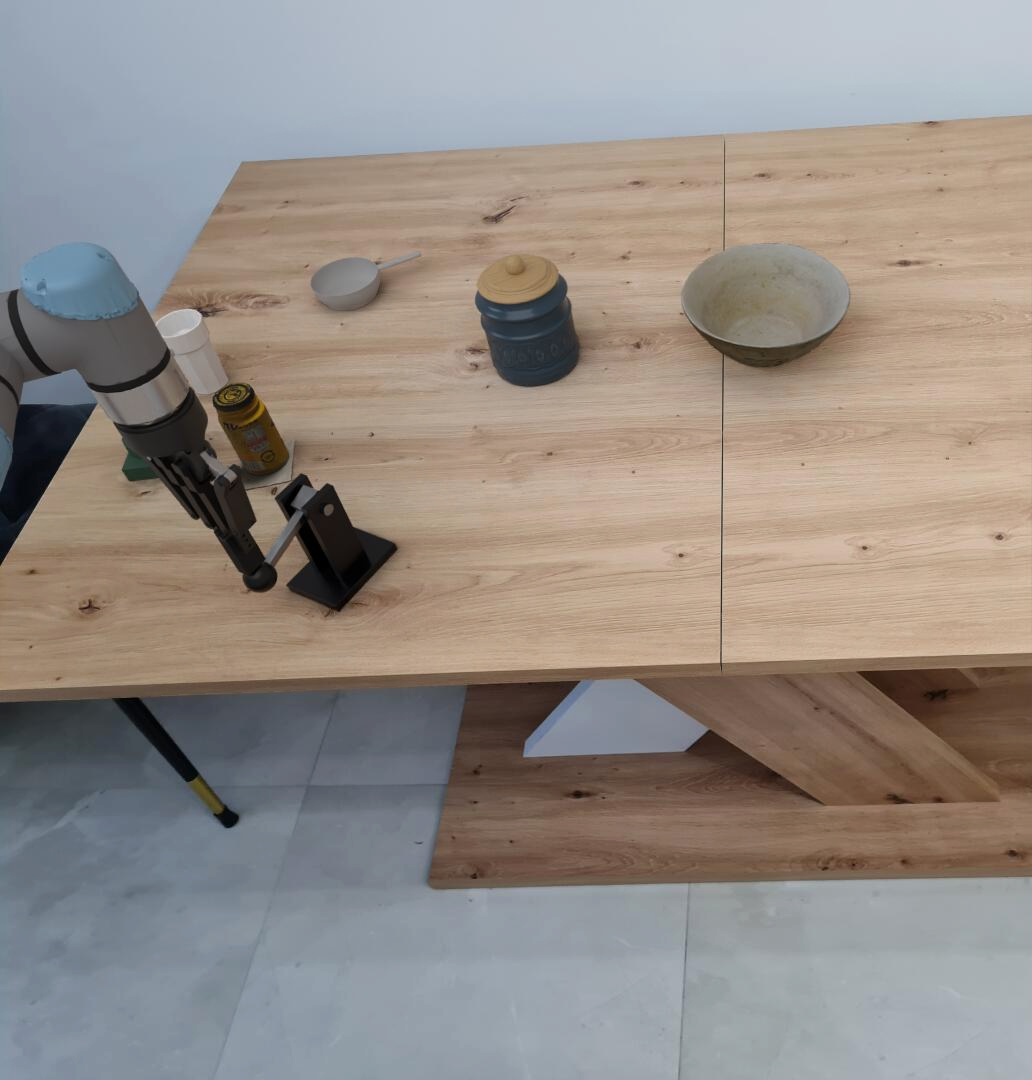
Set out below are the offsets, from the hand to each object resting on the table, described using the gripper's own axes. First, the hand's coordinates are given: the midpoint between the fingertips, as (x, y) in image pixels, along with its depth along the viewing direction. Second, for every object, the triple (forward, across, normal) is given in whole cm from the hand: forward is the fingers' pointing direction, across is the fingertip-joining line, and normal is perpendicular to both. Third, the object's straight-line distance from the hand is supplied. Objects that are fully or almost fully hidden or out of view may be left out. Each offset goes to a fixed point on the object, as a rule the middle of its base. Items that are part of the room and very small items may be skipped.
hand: (252, 565), depth 116 cm
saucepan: (+11, +37, -59) cm, 70 cm away
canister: (+11, +1, -54) cm, 55 cm away
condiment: (+11, +23, -20) cm, 32 cm away
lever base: (+11, 0, -10) cm, 15 cm away
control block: (+11, +39, -15) cm, 43 cm away
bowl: (+12, -29, -70) cm, 76 cm away
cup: (+11, +44, -30) cm, 54 cm away
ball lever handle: (+2, 0, -5) cm, 6 cm away
